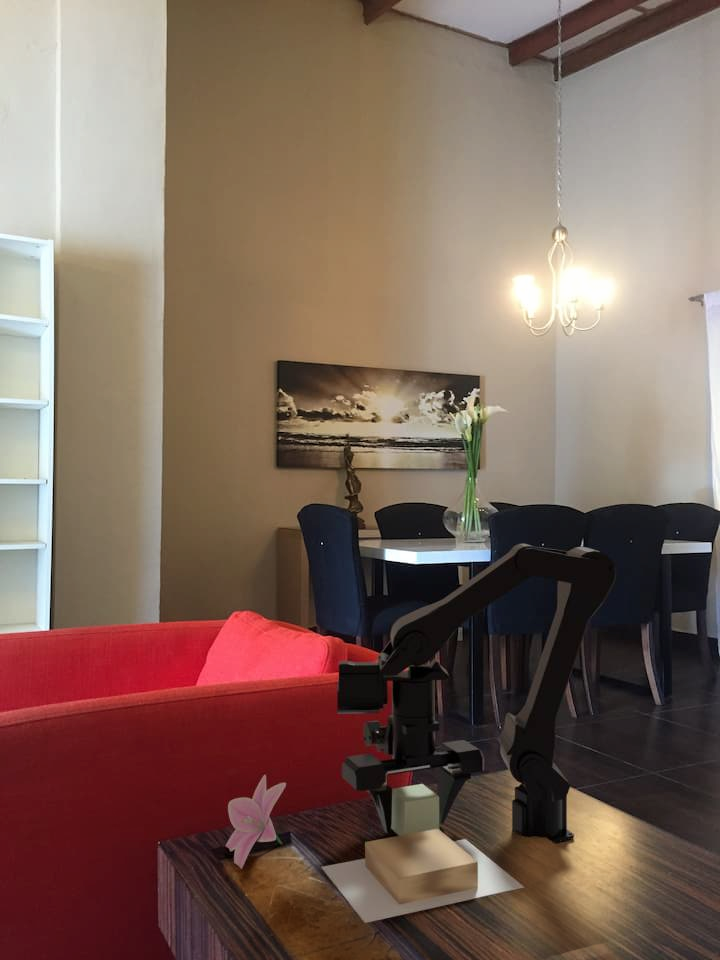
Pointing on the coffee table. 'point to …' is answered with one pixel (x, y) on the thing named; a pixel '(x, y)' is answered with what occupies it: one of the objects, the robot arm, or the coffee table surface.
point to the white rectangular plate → (380, 904)
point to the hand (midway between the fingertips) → (414, 827)
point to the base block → (420, 865)
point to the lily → (252, 820)
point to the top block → (414, 809)
